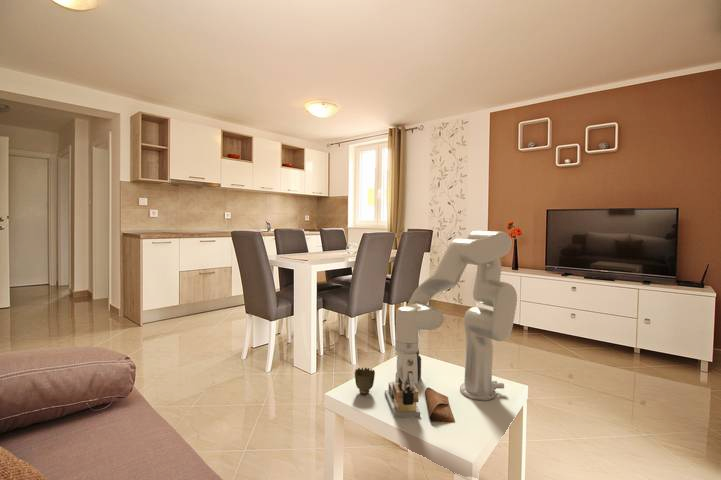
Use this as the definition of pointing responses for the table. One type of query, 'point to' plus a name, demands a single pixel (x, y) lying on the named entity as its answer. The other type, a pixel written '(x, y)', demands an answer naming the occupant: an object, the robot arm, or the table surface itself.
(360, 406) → the table surface
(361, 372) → the cup
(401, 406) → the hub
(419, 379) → the supplement bottle
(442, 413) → the sunglasses case
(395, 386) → the collar
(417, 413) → the parts board
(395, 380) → the stand rod
